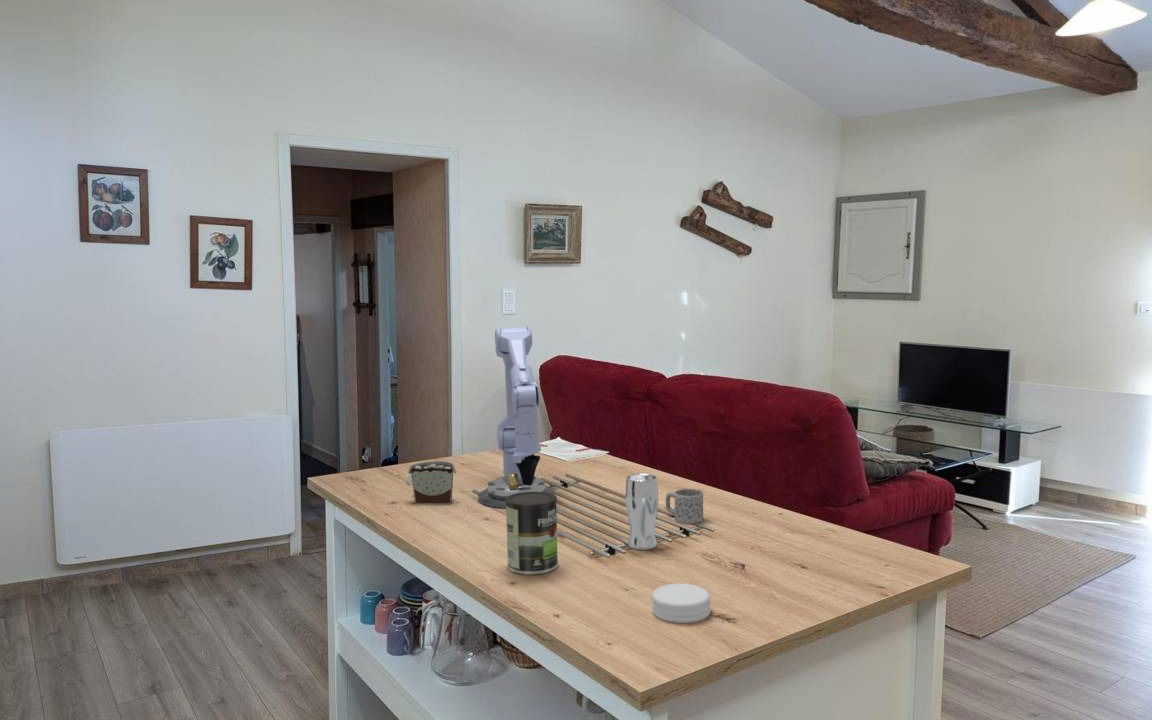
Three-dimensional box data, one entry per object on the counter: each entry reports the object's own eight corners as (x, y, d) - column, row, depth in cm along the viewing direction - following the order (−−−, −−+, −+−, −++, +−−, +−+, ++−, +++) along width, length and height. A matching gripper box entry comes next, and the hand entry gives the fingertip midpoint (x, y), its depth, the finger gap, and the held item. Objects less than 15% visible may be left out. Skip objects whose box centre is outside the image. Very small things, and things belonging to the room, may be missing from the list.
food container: (462, 498, 221) (460, 460, 220) (456, 504, 215) (455, 466, 214) (416, 497, 222) (415, 460, 221) (409, 504, 216) (408, 466, 215)
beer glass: (637, 553, 175) (636, 482, 173) (620, 544, 181) (619, 476, 179) (665, 547, 178) (664, 478, 176) (647, 538, 184) (646, 471, 183)
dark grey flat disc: (500, 485, 233) (500, 481, 233) (566, 491, 225) (566, 486, 225) (464, 504, 214) (464, 499, 214) (535, 511, 207) (534, 506, 207)
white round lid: (645, 620, 142) (644, 600, 141) (660, 598, 151) (660, 579, 151) (703, 628, 138) (703, 607, 138) (715, 605, 147) (715, 586, 147)
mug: (708, 519, 198) (708, 491, 197) (692, 526, 193) (692, 497, 192) (674, 511, 204) (674, 485, 204) (657, 518, 199) (657, 490, 199)
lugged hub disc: (547, 485, 227) (546, 461, 226) (542, 500, 212) (541, 475, 211) (492, 485, 227) (491, 462, 227) (483, 500, 213) (482, 475, 212)
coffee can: (568, 562, 170) (566, 494, 169) (539, 578, 161) (537, 507, 160) (526, 554, 176) (524, 488, 174) (496, 569, 167) (494, 500, 165)
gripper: (522, 426, 221) (524, 477, 222) (500, 437, 207) (502, 490, 208) (547, 427, 218) (549, 478, 220) (527, 438, 205) (528, 492, 206)
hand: (528, 484), depth 214 cm, fingers closed
